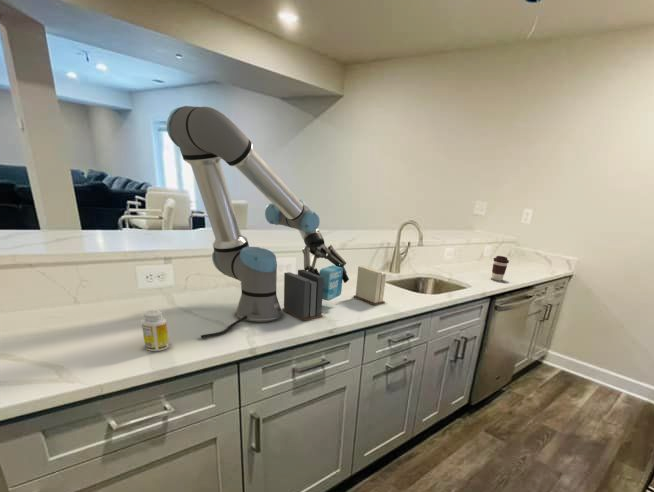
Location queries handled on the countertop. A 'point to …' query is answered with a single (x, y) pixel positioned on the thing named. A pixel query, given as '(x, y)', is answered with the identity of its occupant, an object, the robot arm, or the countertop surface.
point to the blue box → (331, 282)
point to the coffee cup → (499, 267)
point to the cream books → (370, 285)
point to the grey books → (303, 294)
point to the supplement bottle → (155, 331)
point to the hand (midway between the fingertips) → (334, 283)
